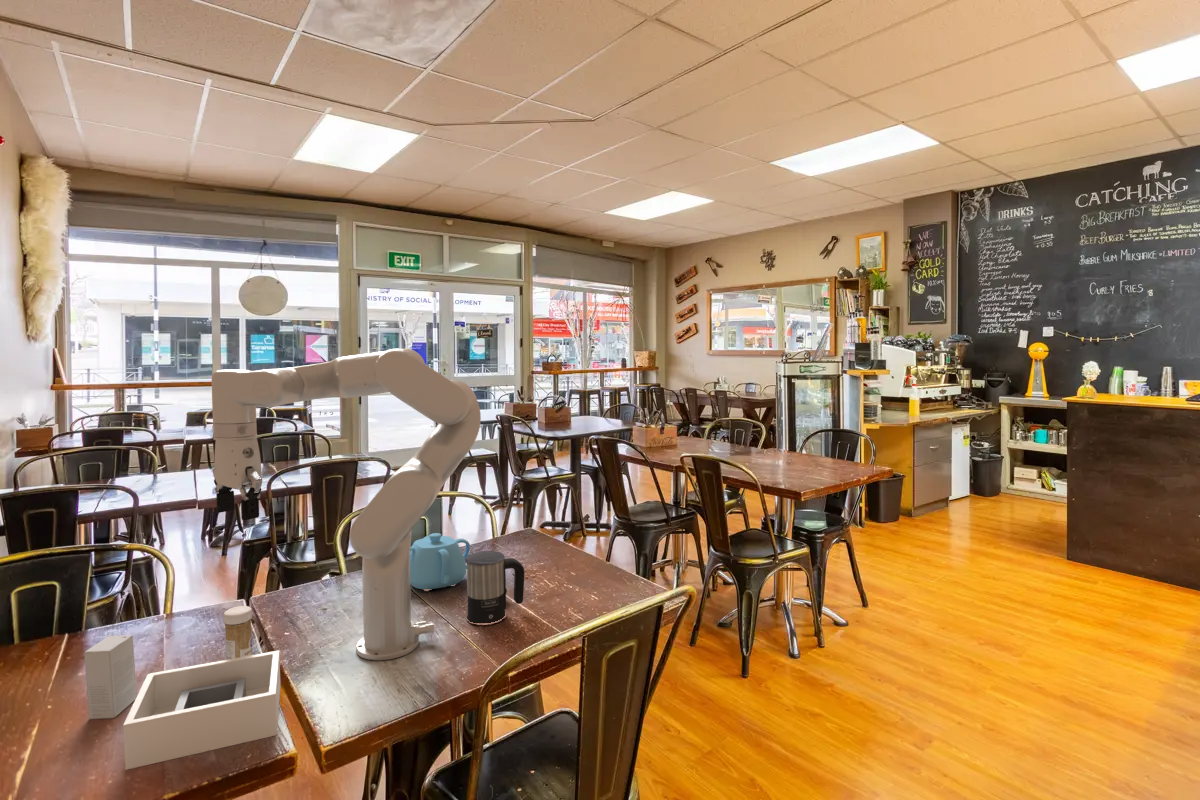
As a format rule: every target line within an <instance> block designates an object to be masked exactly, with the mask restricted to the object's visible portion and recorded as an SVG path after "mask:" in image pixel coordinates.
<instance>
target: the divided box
mask: <svg viewBox="0 0 1200 800" xmlns="http://www.w3.org/2000/svg"><path fill="white" fill-rule="evenodd" d="M280 657H281V656H280V650H274V651H268V652H263V653H258V654H253V655H251V656H245V657H239V658H234V659H228V660H226V659H222V660H219V661H213V662H206V663H202V664H195V665H190V666H185V667H180V668H174V669H168V670H162V671H156V672H151V673H147V675H146V677H145V678H144V679H145V680H144V681H143V683H142V685H141V687H140V689H139V691H138V693H137V697H136V699H135V700H134V701H133V704H132V706H131V707H130V709H129V712H128V714H127V716H126V718H125V720H124V722H123V725H122V727H123V730H122V731H123V746H124V747H123V748H124V763H125V770H126V771H127V770H132V769H136V768H139V767H145V766H148V765H152V764H156V763H161V762H166V761H170V760H174V759H175V760H176V759H178V758H184V757H187V756H188V757H189V756H193V755H197V754H200V753H206V752H210V751H214V750H218V749H222V748H227V747H230V746H235V745H240V744H243V743H248V742H252V741H257V740H258V741H259V740H261V739H265V738H269V737H274V736H278V729H279V728H278V726H279V711H280V700H281V699H280V698H281V663H280Z"/></svg>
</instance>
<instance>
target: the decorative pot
mask: <svg viewBox="0 0 1200 800" xmlns="http://www.w3.org/2000/svg"><path fill="white" fill-rule="evenodd" d="M460 543H462V544H465V549H464V554H463V551H462V549H461V548H460V546H459V544H460ZM470 552H471V545H470V542H469V541H468V540H467V539H464V538H457V539H454V538H453V537H452V536H448V535H442V534H441V533H440V532H439V533H438V532H434V533H433V532H432V533H431V534H429V535H427V536H424V537H423V538H420V539H417V540H415V541H414V542H413V543H412V544H411V548H410V586H412V587H414V588H415V589H419V590H423V589H434V590H435V589H441V588H446V587H447V586H451V585H454V584H456V585H457V584H459V583H461V582H462V580H463V579H464V578H465V576H466V575H467V563H466V562H465V559H466V557H467V556H468V555H470Z"/></svg>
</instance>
